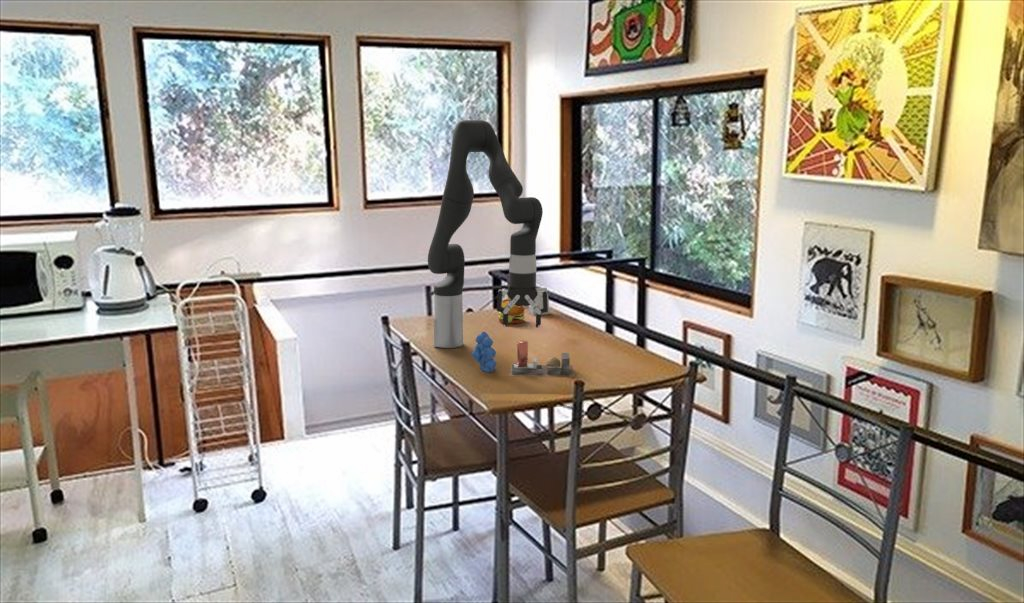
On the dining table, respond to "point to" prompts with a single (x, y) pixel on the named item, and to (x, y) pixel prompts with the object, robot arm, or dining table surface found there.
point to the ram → (524, 357)
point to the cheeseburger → (513, 313)
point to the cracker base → (547, 370)
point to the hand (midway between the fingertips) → (522, 326)
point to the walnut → (553, 362)
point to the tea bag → (539, 303)
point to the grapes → (484, 352)
